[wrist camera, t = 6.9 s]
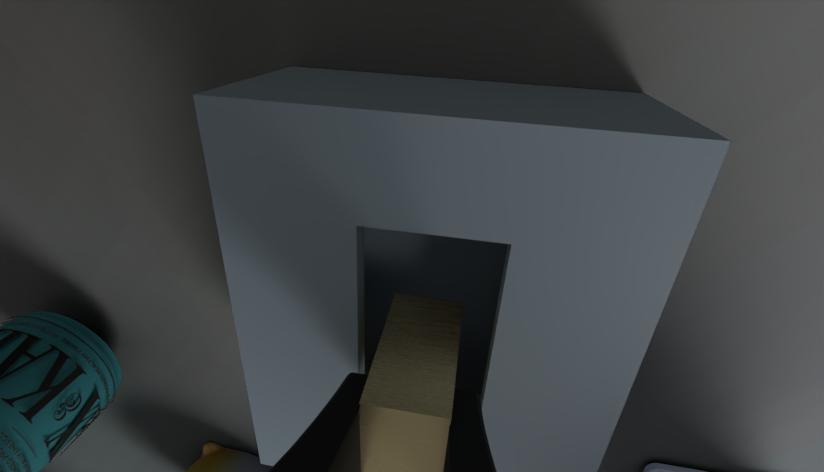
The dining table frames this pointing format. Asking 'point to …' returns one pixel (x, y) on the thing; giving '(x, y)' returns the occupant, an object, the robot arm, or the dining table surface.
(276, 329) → the grey block with hole
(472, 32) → the dining table surface
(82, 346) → the beverage bottle
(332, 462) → the robot arm
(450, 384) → the brass block
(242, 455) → the mug
